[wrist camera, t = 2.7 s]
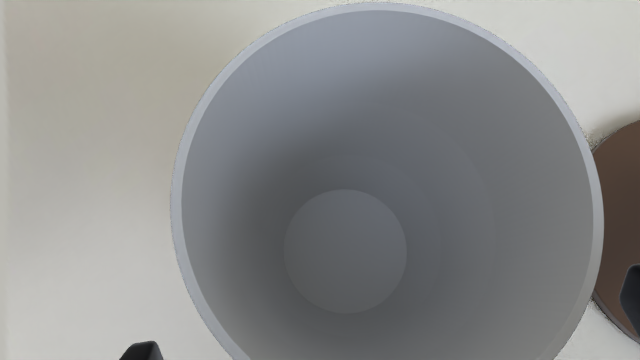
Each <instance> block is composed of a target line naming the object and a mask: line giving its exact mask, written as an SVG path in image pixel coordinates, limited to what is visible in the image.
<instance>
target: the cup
mask: <svg viewBox="0 0 640 360" xmlns="http://www.w3.org/2000/svg"><path fill="white" fill-rule="evenodd" d="M170 212H171V228H172V236H173V242H174V248H175V252H176V257H177V261H178V264H179V268H180V271H181V274H182V277H183V280H184V283H185V285H186V287H187V290H188V292H189V295H190V297H191V299H192V301H193V303H194V305H195V307H196V309H197V311H198V312H199V314H200V316H201V318H202V319H203V321H204V322H205V324H206V326H207V327H208V329H209V330H210V332H211V333H212V334H213V336H214V337H215V338H216V340H217V341H218V342H219V343H220V345H221V346H222V347H223V348H224V349H225V351H226V352H227V353H228V354H229V355H230V356H231V357H232V358H233V359H234V360H553V359H554V358H555V357H556V356H557V354H558V353H559V352H560V351H561V349H562V348H563V347H564V345H565V344H566V343H567V341H568V340H569V338H570V337H571V335H572V334H573V332H574V331H575V329H576V327H577V325H578V324H579V322H580V320H581V318H582V316H583V314H584V312H585V310H586V307H587V305H588V303H589V300H590V298H591V295H592V292H593V289H594V286H595V283H596V280H597V276H598V272H599V267H600V262H601V256H602V249H603V238H604V212H603V201H602V193H601V187H600V182H599V177H598V173H597V169H596V165H595V162H594V159H593V156H592V153H591V150H590V148H589V145H588V143H587V140H586V138H585V136H584V134H583V131H582V129H581V127H580V125H579V123H578V122H577V120H576V118H575V116H574V115H573V113H572V111H571V110H570V108H569V106H568V105H567V103H566V102H565V100H564V99H563V98H562V96H561V95H560V93H559V92H558V91H557V90H556V88H555V87H554V86H553V85H552V83H551V82H550V81H549V80H548V79H547V78H546V77H545V76H544V74H543V73H542V72H541V71H540V70H539V69H538V68H537V67H536V66H535V65H534V64H533V63H531V62H530V61H529V60H528V59H527V58H526V57H525V56H523V55H522V54H521V53H520V52H519V51H517V50H516V49H515V48H513V47H512V46H511V45H509V44H508V43H506V42H505V41H503V40H502V39H500V38H499V37H497V36H496V35H494V34H492V33H491V32H489V31H487V30H485V29H483V28H481V27H479V26H478V25H475V24H473V23H471V22H469V21H467V20H464V19H462V18H459V17H457V16H454V15H451V14H448V13H445V12H442V11H438V10H435V9H431V8H426V7H422V6H416V5H410V4H403V3H391V2H365V3H353V4H346V5H339V6H334V7H329V8H326V9H322V10H318V11H315V12H311V13H309V14H306V15H303V16H300V17H298V18H295V19H293V20H291V21H288V22H286V23H284V24H282V25H280V26H278V27H276V28H275V29H273V30H271V31H269V32H268V33H266V34H265V35H263V36H261V37H260V38H258V39H257V40H256V41H254V42H253V43H251V44H250V45H249V46H248V47H246V48H245V49H244V50H243V51H241V52H240V53H239V54H238V55H237V56H236V57H235V58H234V59H233V60H231V61H230V62H229V63H228V65H227V66H226V67H225V68H224V69H223V70H222V71H221V72H220V73H219V74H218V76H217V77H216V78H215V79H214V81H213V82H212V83H211V84H210V86H209V87H208V89H207V90H206V91H205V93H204V94H203V96H202V98H201V99H200V101H199V102H198V104H197V106H196V108H195V110H194V112H193V113H192V115H191V117H190V120H189V122H188V124H187V126H186V129H185V131H184V134H183V136H182V139H181V142H180V145H179V149H178V152H177V156H176V161H175V165H174V171H173V177H172V185H171V200H170Z"/></svg>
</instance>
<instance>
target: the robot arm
mask: <svg viewBox="0 0 640 360" xmlns="http://www.w3.org/2000/svg"><path fill="white" fill-rule="evenodd" d="M619 301H620V305H621V307H622V309H623V311H624V313H625V314H626V316H627V318H628V320H629V321H630V323H631V325H632V326H633V328H634V330H635V332H636V333H637V335H638V337H639V338H640V263H639V264H634V265H631V266H630V267H629V268H628V270H627V273H626V276H625V279H624V282H623V285H622V288H621V291H620V294H619ZM119 360H163V357H162V354H161V352H160V349H159V347H158V345H157V343H156V342H155V341H147V342H141V343H135V344H132V345H131V346H130V347H129V348H128V349H127V350H126V352H125V353H124V354H123V355H122V357H121V358H120V359H119Z"/></svg>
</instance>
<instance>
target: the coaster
mask: <svg viewBox="0 0 640 360" xmlns="http://www.w3.org/2000/svg"><path fill="white" fill-rule="evenodd" d="M591 153H592V156H593V159H594V162H595V165H596V169H597V173H598V177H599V182H600V187H601V193H602V201H603V212H604V238H603V249H602V256H601V262H600V267H599V272H598V276H597V280H596V283H595V286H594V289H593V292H592V297H593V298H594V300H595V301H596V303H597V304H598V305H599V307H600V308H601V309H602V310H603V312H604V313H605V314H606V315H607V316H608V317H609V318H610V319H611V320H612V321H613V322H614V323H615V324H616V325H617V326H618V327H619V328H620V329H621V330H622V331H623V332H625V333H626V334H627V335H628V336H630V337H631V338H632V339H633V340H635V341H636V342H638V343H639V344H640V338H639V337H638V335H637V333H636V332H635V330H634V328H633V326H632V325H631V323H630V321H629V320H628V318H627V316H626V314H625V313H624V311H623V309H622V307H621V305H620V301H619V294H620V291H621V288H622V285H623V282H624V279H625V276H626V273H627V270H628V268H629V267H630V266H631V265H634V264H639V263H640V120H639V121H637V122H634V123H631V124H629V125H627V126H625V127H623V128H621V129H619V130H617V131H616V132H614V133H612V134H611V135H609V136H608V137H607V138H605V139H604V140H602V141H601V142H600V143H599V144H598V145H597V146H596V147H595V148H594V149H593V150H592V151H591Z"/></svg>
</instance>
